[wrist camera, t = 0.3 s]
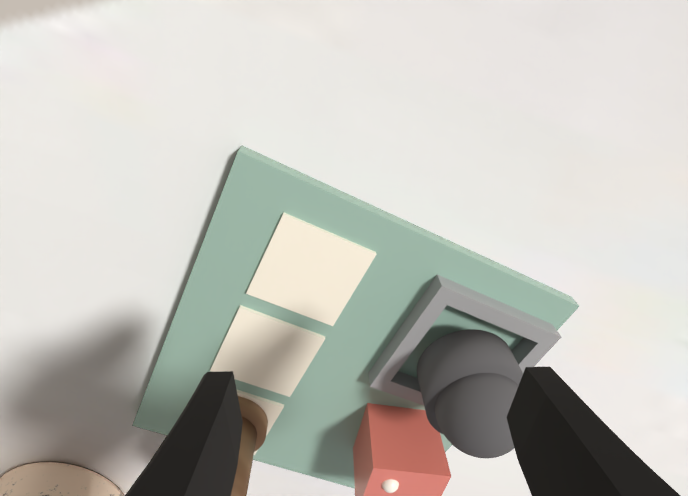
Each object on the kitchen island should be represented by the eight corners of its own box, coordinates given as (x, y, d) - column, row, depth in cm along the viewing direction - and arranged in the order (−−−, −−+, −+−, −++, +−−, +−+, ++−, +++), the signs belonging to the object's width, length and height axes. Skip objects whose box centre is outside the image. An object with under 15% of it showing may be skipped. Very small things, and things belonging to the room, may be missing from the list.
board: (398, 489, 30) (402, 516, 28) (137, 414, 26) (124, 440, 24) (571, 296, 22) (589, 318, 21) (241, 145, 18) (232, 158, 16)
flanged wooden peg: (252, 452, 26) (234, 554, 21) (184, 433, 25) (148, 535, 20) (279, 408, 24) (265, 508, 19) (207, 385, 23) (173, 485, 18)
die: (415, 455, 27) (429, 528, 23) (352, 448, 26) (356, 521, 22) (434, 411, 25) (452, 483, 21) (367, 402, 24) (373, 474, 21)
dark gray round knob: (476, 411, 23) (506, 494, 19) (399, 383, 22) (414, 466, 18) (532, 349, 21) (579, 428, 17) (450, 315, 20) (480, 392, 16)
